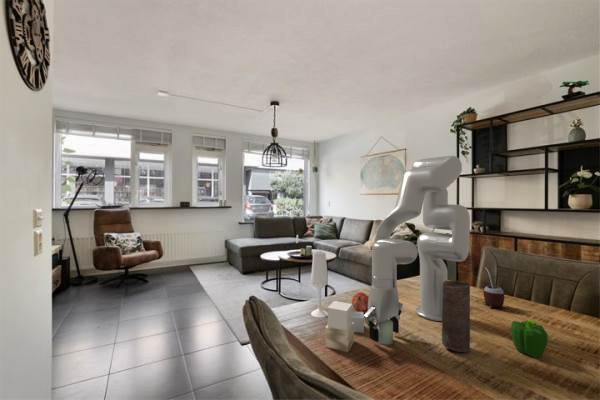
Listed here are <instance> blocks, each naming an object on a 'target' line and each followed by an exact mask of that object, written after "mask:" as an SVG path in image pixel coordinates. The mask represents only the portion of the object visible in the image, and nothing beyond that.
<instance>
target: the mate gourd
mask: <svg viewBox="0 0 600 400" xmlns="http://www.w3.org/2000/svg"><path fill="white" fill-rule="evenodd" d="M484 268H485V270H486V271H487V272H486V273H488V277H489V281H490V285H487V286H485V287H484V289H483V298H484V306H487V307H489V309H490V310H493V309H495V308H496V309H499V310H504V308H503V307H504V303H505V298H506V297H505V292H504V290H503V289H502V288H501V287H500V286H496V285H494V284H493V283H494V282H493V281H492V274H491V273H490V271H489V269H488V268H487V267H484Z"/></svg>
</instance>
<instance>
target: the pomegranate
mask: <svg viewBox="0 0 600 400" xmlns="http://www.w3.org/2000/svg"><path fill="white" fill-rule="evenodd" d="M368 298H369V295H367V294H366V293H365V292H361V291H360V292H358V293H356V294H354V295H353V296H352V299H351V304H352V308H353V309H354V310H355V311H356V312H363V313H366V312H367V311H368Z"/></svg>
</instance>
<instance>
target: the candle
mask: <svg viewBox="0 0 600 400" xmlns="http://www.w3.org/2000/svg"><path fill="white" fill-rule="evenodd" d="M470 316H471V284H470V283H469V282H467V281H463V280H462V281H461V280H450V279H447V281H444V282H443V298H442V321H441V343H442V346H444V347H445V348H446V349H448V350H449V349H450V350H452V351H455V352H458V353H462V352H469V351H470V349H471V347H470V345H471V317H470Z"/></svg>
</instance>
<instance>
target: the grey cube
mask: <svg viewBox="0 0 600 400" xmlns="http://www.w3.org/2000/svg"><path fill="white" fill-rule="evenodd" d="M364 313H365V312H360V311H356V310H355V311H353V310H352V322H354V333H360V334H361V333H363V334H364V333H365V319H364V315H365V314H364Z"/></svg>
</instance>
